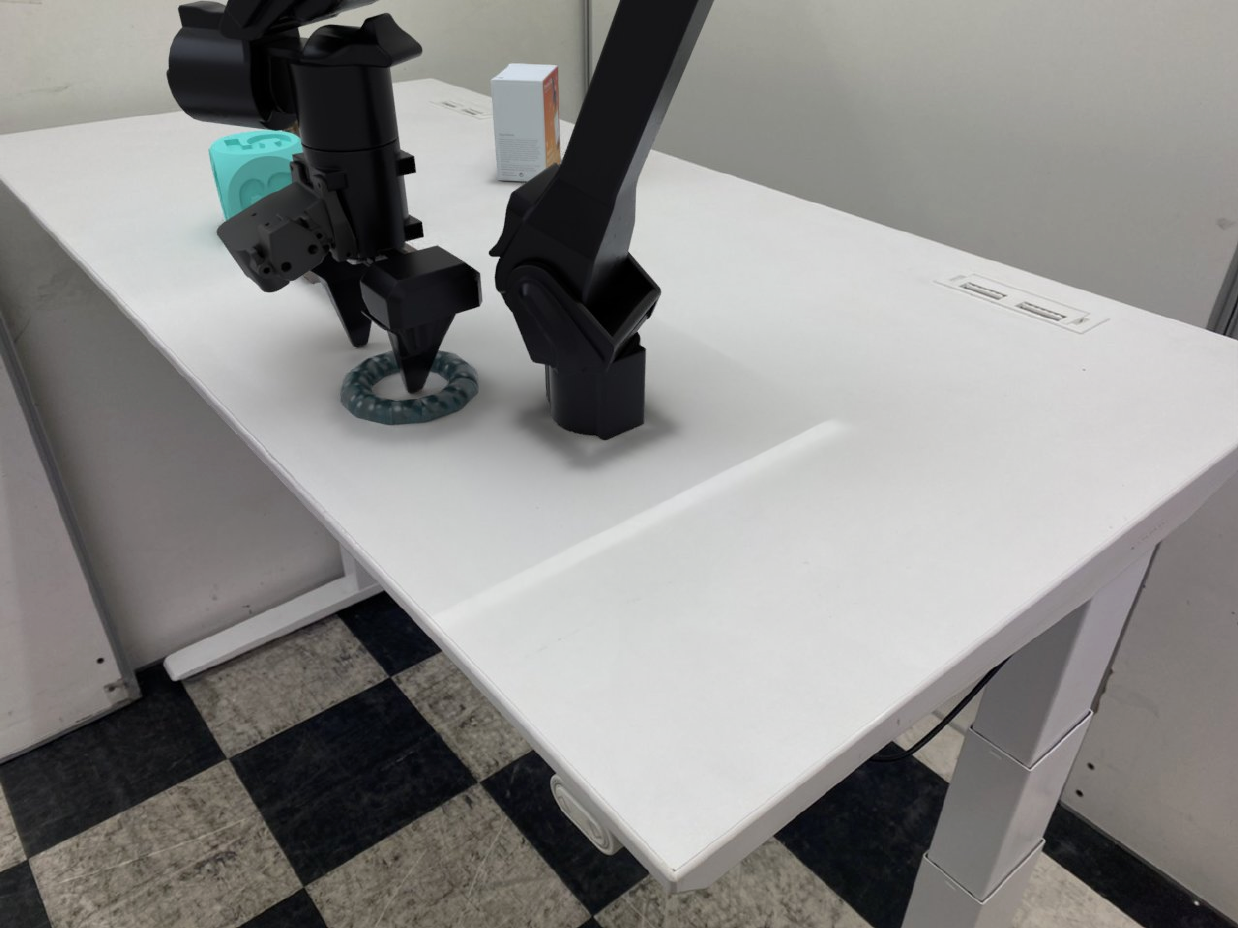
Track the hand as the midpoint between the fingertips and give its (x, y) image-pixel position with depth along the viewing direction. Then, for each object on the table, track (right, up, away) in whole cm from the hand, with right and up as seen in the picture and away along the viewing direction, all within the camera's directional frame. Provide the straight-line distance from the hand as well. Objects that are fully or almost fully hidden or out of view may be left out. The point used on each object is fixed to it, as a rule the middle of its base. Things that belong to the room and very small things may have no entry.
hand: (386, 367), depth 64 cm
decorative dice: (-17, +16, +25) cm, 34 cm away
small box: (+6, +26, +39) cm, 47 cm away
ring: (+2, -2, -2) cm, 4 cm away
